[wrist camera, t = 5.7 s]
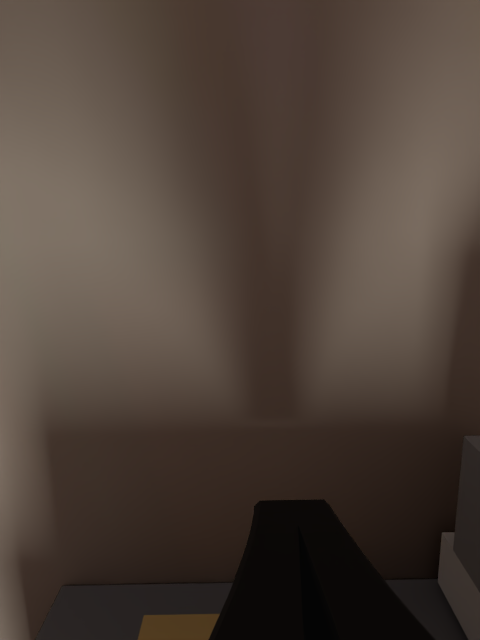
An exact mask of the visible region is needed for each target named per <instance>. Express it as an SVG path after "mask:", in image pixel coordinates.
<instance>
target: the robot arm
mask: <svg viewBox="0 0 480 640" xmlns="http://www.w3.org/2000/svg"><path fill="white" fill-rule="evenodd" d="M208 640H436V639H435V638H434V637H433V636H432V635H431V634H430V633H429V632H428V630H427V629H426V628H425V627H424V626H423V625H422V624H421V623H420V622H419V620H418V619H417V618H416V617H415V616H414V615H413V614H412V613H411V611H410V610H409V609H408V608H407V607H406V606H405V604H404V603H403V602H402V601H401V600H400V598H399V597H398V596H397V595H396V594H395V593H394V591H393V590H392V589H391V588H390V586H389V585H388V584H387V583H386V581H385V580H384V579H383V578H382V576H381V575H380V574H379V573H378V571H377V570H376V569H375V568H374V567H373V565H372V564H371V563H370V561H369V560H368V559H367V558H366V556H365V555H364V554H363V552H362V551H361V550H360V548H359V547H358V546H357V544H356V543H355V541H354V540H353V539H352V537H351V536H350V535H349V533H348V532H347V530H346V529H345V528H344V526H343V525H342V523H341V522H340V520H339V519H338V517H337V516H336V514H335V513H334V511H333V510H332V508H331V507H330V505H329V504H328V503H327V502H326V501H325V500H273V501H259V502H258V503H257V504H256V505H255V506H254V516H253V521H252V526H251V531H250V534H249V538H248V541H247V545H246V548H245V551H244V554H243V557H242V560H241V563H240V565H239V568H238V571H237V574H236V576H235V579H234V582H233V584H232V587H231V590H230V592H229V594H228V597H227V599H226V601H225V604H224V606H223V608H222V610H221V613H220V615H219V617H218V619H217V621H216V624H215V626H214V628H213V630H212V633H211V635H210V637H209V639H208Z"/></svg>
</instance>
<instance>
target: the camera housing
mask: <svg viewBox="0 0 480 640" xmlns="http://www.w3.org/2000/svg"><path fill="white" fill-rule="evenodd" d="M385 581H386V583H387V584H388V585H389V586H390V588H391V589H392V590H393V591H394V593H395V594H396V595H397V596H398V597H399V598H400V600H401V601H402V602H403V603H404V604H405V606H406V607H407V608H408V609H409V610H410V611H411V613H412V614H413V615H414V616H415V617H416V618H417V619H418V620H419V622H420V623H421V624H422V625H423V626H424V627H425V628H426V629H427V630H428V632H429V633H430V634H431V635H432V636H433V637H434V638H435V639H436V640H468V638H467V636H466V634H465V632H464V630H463V629H462V627H461V625H460V623H459V621H458V619H457V617H456V615H455V614H454V612H453V610H452V608H451V606H450V604H449V602H448V600H447V598H446V597H445V595H444V593H443V591H442V589H441V587H440V585H439V583H438V579H408V580H385ZM232 584H233V583H189V584H134V585H80V586H62V587H61V589H60V591H59V593H58V595H57V597H56V599H55V601H54V603H53V605H52V607H51V609H50V611H49V613H48V615H47V617H46V619H45V621H44V623H43V625H42V627H41V629H40V631H39V633H38V635H37V637H36V639H35V640H208V639H209V637H210V635H211V633H212V630H213V628H214V626H215V624H216V621H217V619H218V617H219V615H220V613H221V610H222V608H223V606H224V604H225V601H226V599H227V597H228V594H229V592H230V590H231V587H232Z"/></svg>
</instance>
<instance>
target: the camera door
mask: <svg viewBox="0 0 480 640" xmlns="http://www.w3.org/2000/svg"><path fill="white" fill-rule="evenodd" d="M438 583H439V585H440V587H441V589H442V591H443V593H444V595H445V597H446V598H447V600H448V602H449V604H450V606H451V608H452V610H453V612H454V614H455V615H456V617H457V619H458V621H459V623H460V625H461V627H462V629H463V630H464V632H465V634H466V636H467V638H468V640H480V435H478V436H464V438H463V448H462V459H461V470H460V481H459V491H458V502H457V513H456V523H455V532H442V537H441V549H440V561H439V572H438Z"/></svg>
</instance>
